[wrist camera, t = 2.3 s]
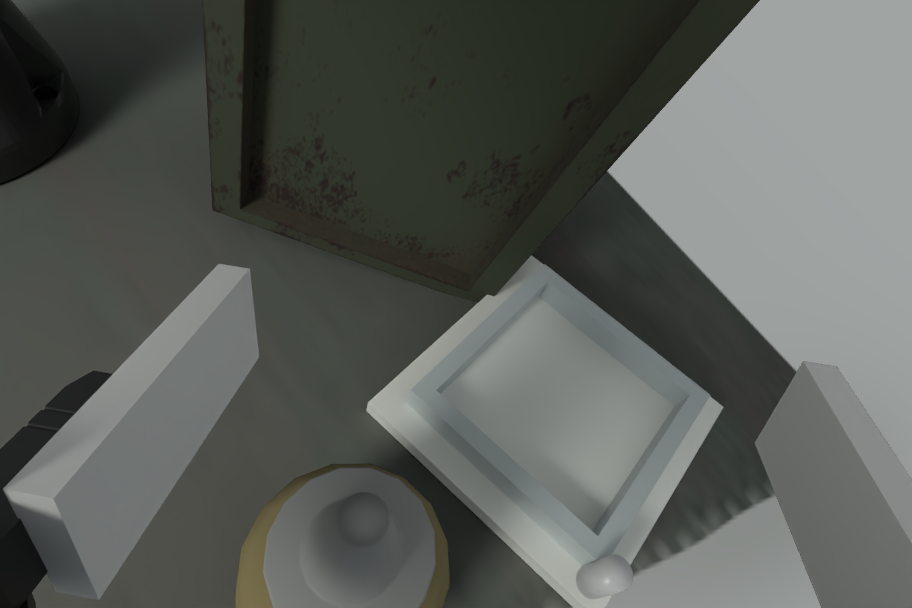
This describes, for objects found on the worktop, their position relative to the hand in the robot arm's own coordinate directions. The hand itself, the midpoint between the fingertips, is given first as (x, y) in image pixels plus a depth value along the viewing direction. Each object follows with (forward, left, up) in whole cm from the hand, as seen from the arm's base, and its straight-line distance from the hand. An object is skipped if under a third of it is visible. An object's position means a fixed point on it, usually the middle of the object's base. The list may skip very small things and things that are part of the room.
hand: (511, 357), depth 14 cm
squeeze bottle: (0, -5, -20) cm, 20 cm away
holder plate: (+2, +11, -19) cm, 22 cm away
